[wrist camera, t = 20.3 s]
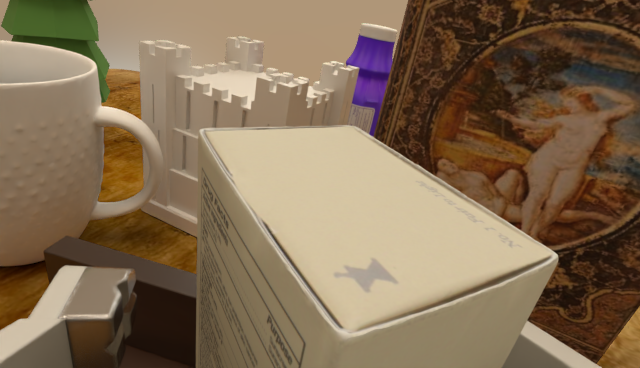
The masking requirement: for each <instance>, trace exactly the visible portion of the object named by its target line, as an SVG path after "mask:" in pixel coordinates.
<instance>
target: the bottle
mask: <svg viewBox="0 0 640 368" xmlns="http://www.w3.org/2000/svg"><path fill="white" fill-rule="evenodd" d="M396 34H397V30H395V29H391V28H388V27H384V26H379V25H374V24H367V23H362V24H361V29H360V33H359V37H358V42H357V45H356V47H355V50H354V52H353V53H352V55H351V56H350V57H349V59H348V60H347V61H346V65H347V66H348V65H351V66H354V67H358V68H359V73H358V77H357V82H356V86H355V91H354V95H353V100H352V104H351V109H350V113H349V118H348V122H347V125H348V126H356V127H358V128H360V129H361V130H363V131H364V132H366V133H368V134H369V135H371V136H372V137H373V136H374V132H375V128H376V124H377V120H378V116H379V113H380V109H381V105H382V101H383V97H384V93H385V89H386V85H387V81H388V78H389V74H390V70H391V66H392V53H393V47H394V43H395V39H396Z"/></svg>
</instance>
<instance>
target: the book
mask: <svg viewBox="0 0 640 368" xmlns="http://www.w3.org/2000/svg"><path fill="white" fill-rule="evenodd" d="M373 137H374V138H375V139H377V140H379V141H380V142H382V143H383V144H385V145H386V146H388V147H390V148H391V149H393V150H395V151H396V152H398V153H400V154H401V155H403V156H404V157H406V158H407V159H409V160H410V161H412V162H414V164H417V165H419V166H421V167H422V168H423V169H425V170H426V171H428V172H429V173H431V174H433V175H434V176H436V177H438V178H439V179H441V180H443V181H444V182H446V183H447V184H448V185H450V186H452V187H453V188H455V189H457V190H458V191H460V192H461V193H462V194H465V195H466V196H467V197H468V198H470V199H473V200H474V201H475V202H477V203H479V204H480V205H482V206H484V207H485V208H487V209H488V210H490V211H491V212H493V213H495V214H496V215H497V216H499V217H501V218H502V219H504V220H506V221H507V222H509V223H510V224H511V225H513V226H515V227H516V228H518V229H519V230H521V231H522V232H524V233H526V234H527V235H529V236H530V237H531V238H533V239H534V240H536V241H538V242H539V243H541V244H543V245H545V246H546V247H548V248H549V249H551V250H552V251H554V252H555V253H556V254H557V255H558V263H557V265H556V267H555V269H554V271H553V273H552V275H551V277H550V279H549V280H548V282H547V284H546V286H545V288H544V290H543V292H542V294H541V295H540V297H539V299H538V301H537V303H536V305H535V307H534V308H533V310H532V312H531V314H530V316H529V318H528V320H527V321H529V322H530V323H532V324H533V325H535V326H536V327H538V328H540V329H541V330H543V331H544V332H546V333H548V334H549V335H551V336H552V337H554V338H555V339H557V340H559V341H560V342H562V343H563V344H565V345H567V346H568V347H570V348H571V349H573V350H574V351H576V352H578V353H579V354H581V355H582V356H584V357H586V358H587V359H589V360H590V361H592V362H593V363H595V364H597V362H598V361H599V360H600V358H601V357H602V356H603V354H604V353H605V352H606V350H607V349H608V348H609V346H610V345H611V344H612V342H613V341H614V340H615V338H616V337H617V336H618V334H619V333H620V332H621V330H622V329H623V328H624V326H625V325H626V324H627V322H628V321H629V320H630V318H631V317H632V315H633V314H634V313H635V311H636V310H637V309H638V307H639V306H640V0H408V4H407V8H406V11H405V15H404V19H403V24H402V27H401V31H400V35H399V39H398V43H397V46H396V50H395V54H394V58H393V62H392V66H391V70H390V74H389V78H388V81H387V85H386V89H385V93H384V97H383V101H382V105H381V109H380V113H379V116H378V120H377V124H376V128H375V132H374V136H373Z"/></svg>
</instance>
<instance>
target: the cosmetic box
mask: <svg viewBox="0 0 640 368" xmlns="http://www.w3.org/2000/svg"><path fill="white" fill-rule="evenodd" d="M557 263H558V255H557V254H556V253H555V252H554V251H552V250H551V249H549V248H548V247H546V246H545V245H543V244H541V243H539V242H538V241H536V240H534V239H533V238H531V237H530V236H529V235H527V234H526V233H524V232H522V231H521V230H519V229H518V228H516V227H515V226H513V225H511V224H510V223H509V222H507V221H506V220H504V219H502V218H501V217H499V216H497V215H496V214H495V213H493V212H491V211H490V210H488V209H487V208H485V207H484V206H482V205H480V204H479V203H477V202H475V201H474V200H473V199H470V198H468V197H467V196H466V195H465V194H462V193H461V192H460V191H458V190H457V189H455V188H453V187H452V186H450V185H448V184H447V183H446V182H444V181H443V180H441V179H439V178H438V177H436V176H434V175H433V174H431V173H429V172H428V171H426V170H425V169H423V168H422V167H421V166H419V165H417V164H414V162H412V161H410V160H409V159H407V158H406V157H404V156H403V155H401V154H400V153H398V152H396V151H395V150H393V149H391V148H390V147H388V146H386V145H385V144H383V143H382V142H380V141H379V140H377V139H375V138H374V137H372V136H371V135H369V134H368V133H366V132H364V131H363V130H361V129H360V128H358V127H356V126H348V125H333V126H297V127H290V126H286V127H245V128H203V129H200V130H199V133H198V208H197V300H196V368H502V366H503V364H504V363H505V361H506V359H507V357H508V355H509V354H510V352H511V350H512V348H513V346H514V344H515V342H516V341H517V339H518V337H519V335H520V333H521V331H522V329H523V327H524V325H525V323H526V322H527V320H528V318H529V316H530V314H531V312H532V310H533V308H534V307H535V305H536V303H537V301H538V299H539V297H540V295H541V294H542V292H543V290H544V288H545V286H546V284H547V282H548V280H549V279H550V277H551V275H552V273H553V271H554V269H555V267H556V265H557Z"/></svg>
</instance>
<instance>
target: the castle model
mask: <svg viewBox="0 0 640 368" xmlns="http://www.w3.org/2000/svg"><path fill="white" fill-rule="evenodd" d="M263 48H264V42H261V41H257V40H253V41H252V42H251V39H250V38H246V37H243V36H242V37H227V43H226V57H225V63H223V62H222V63H217V65H216V66H215V65H212V64H207V65H204V68H203V67H200V66H191V47H188V46H184V45H181V44H180V45H176V43H174V42H171V41H167V40H156V41H155V42H152V41H139V59H140V87H141V115H142V121H143V122H144V123H145V124H146V125H147V126H148V127H149V128H150V130H151V131H152V132H153V134H154V135H155V137H156V139H157V141H158V143H159V146H160V149H161V152H162V157H163V175H162V180H161V183H160V186H159V188H158V190H157V192H156V194H155V195H154V196H153V198H152V199H151V200H150V201H149V202H148V203H147V204H146V205H144V206H143V207H141V211H143V212H145V213H148V214H150V215H152V216H154V217H156V218H158V219H160V220H162V221H164V222H166V223H168V224H170V225H172V226H174V227H176V228H179V229H181V230H183V231H185V232H187V233H189V234H191V235H193V236H195V237H197V208H198V133H199V130H200V129H203V128H245V127H286V126H290V127H297V126H333V125H347V122H348V118H349V113H350V109H351V104H352V100H353V95H354V91H355V86H356V82H357V77H358V73H359V68H358V67H354V66H351V65H348V66H347V69H346V68H343V67H344V64H343V63H340V62H336V61H332V62H330V63H323V64H322V70H321V75H320V81H319V82H318V81H317V82H314V86H313V87H311V86H309V79H308V78H305V77H299V78H298V79H297V78H296V79H293V77H294V74H291V73H287V72H285V73H282V74H279V73H278V71H279V70H277V69H274V68H267V71H266V73H263V67H264V66H263V65H262V57H263ZM149 168H150V167H149V161H148V157H147V154H146V152H145V149H144V148H143V172H144V186H145V185H146V183H147V180H148V176H149Z"/></svg>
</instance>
